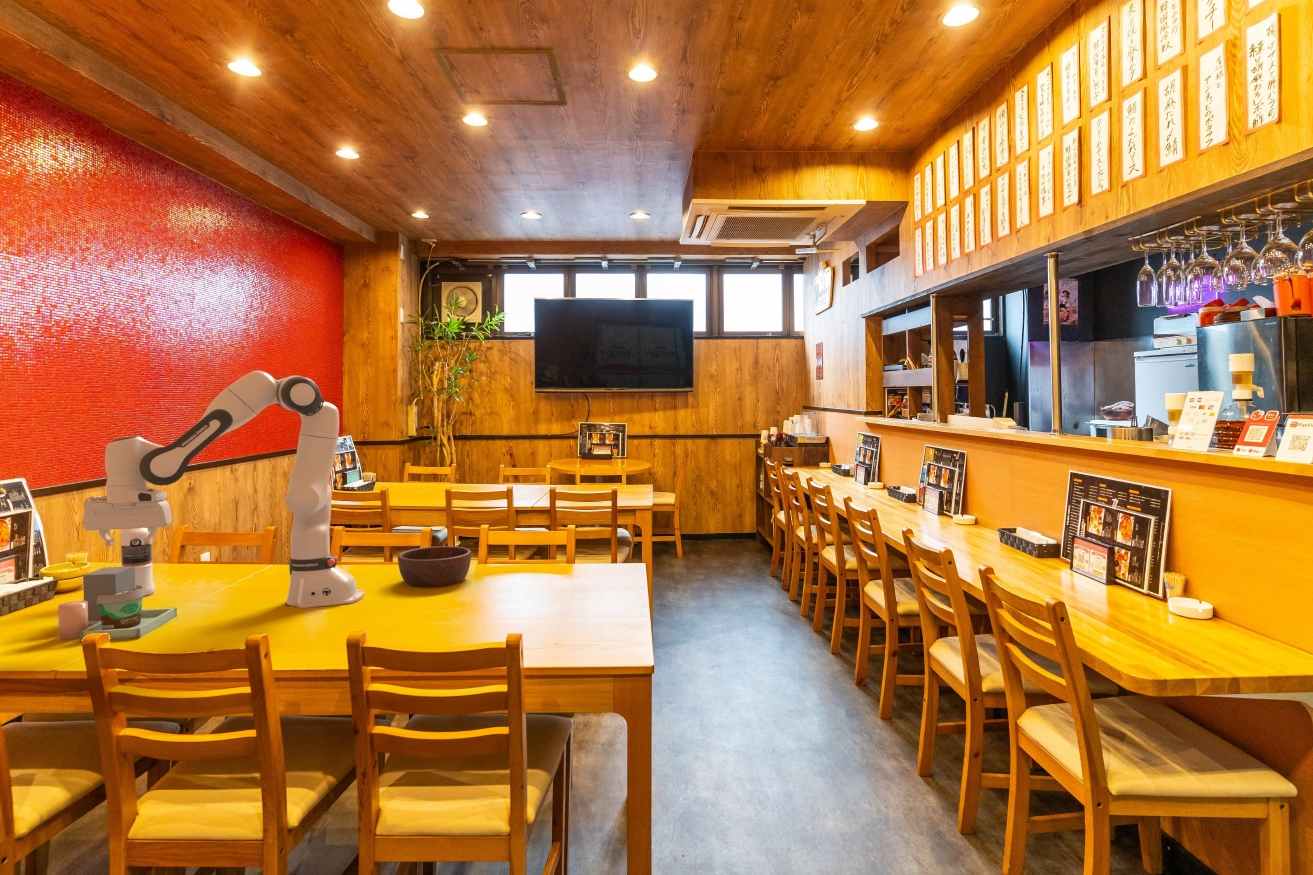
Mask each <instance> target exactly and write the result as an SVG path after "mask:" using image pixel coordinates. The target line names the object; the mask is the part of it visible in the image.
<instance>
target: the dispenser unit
mask: <svg viewBox="0 0 1313 875" xmlns="http://www.w3.org/2000/svg"><path fill="white" fill-rule="evenodd" d="M82 582H83V584H82V585H83V586H82V587H83V601H88V626H90V625H91V626H93V625H95V624H97V623H99V622H101V616H100V609H99V604H96V602H97V598H98V596H106V595H113V594H115V593H117V592H122V591H129V590H132V589H135V566H126V567H121V566H110V567H109V566H108V567H107V566H105V567H102V568H99V569H97V570H94V571H91V572H87V573H85V574H83V575H82Z"/></svg>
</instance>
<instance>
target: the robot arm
mask: <svg viewBox="0 0 1313 875" xmlns="http://www.w3.org/2000/svg"><path fill="white" fill-rule="evenodd" d="M271 405H277V406H279V407H281V408H283V409H285V410H287V411H291V412H295V413H298V414H299V416H300V421H301V426H300V429H299V430H300V431H299V436H298V441H297V442H298V444H297V448H296V455H295V460H294V464H293V467H292V470H291V473H290V477H289V482H288V485H287V490H286V494H285V498H284V502H285V505H286V507H287V509H288V511H289V512H291V513H293V515H292V522H291V523H292V524H291V530H290V557H289V563H288V565H289V568H288V569H289V576H290V582H289V590H288V593H287V598H286V601H285V604H286V605H289V606H294V607H298V608H299V609H307V608H314V607H315V608H316V607H317V608H318V607H325V606H326V607H327V606H335V605H345V604H352V603H353V604H354V603H356V602H358V601H360V600H361V599H362V598H364V596H365V592H364V590H363V589H359V588H358V587H357V582H356V580H355V577H354V576H353V575H352V574H350V573H349V572H347V571H345V570H344V569H342V568H341V567H339V566H337V565H338V564H337V563H338V555H335V556H334V555H332V554H331V552H330V548H331V547H330V546H331V545H330V544H331V543H330V541H331V540H330V539H331V537H330V529H331V528H330V527H331V519H332V518H331V517H332V498H333V495H332V494H333V492H332V491H333V490H332V487H331V485H330V484H329V482H330V478H331V474H332V470H333V467H334V465H335V459H336V454H337V446H338V440H339V433H340V413H339V408H338V407H336V405H334V403H333V404H332V403H330V402H327V401H325V400H324V397H323V396H322V393H321V391H320V388H319V386H318V384H316V382H315V381H314V380H312V379H311V378H309V377H305V376H302V375H290V376H286V377H281V378H280V377H279V378H274V377H273V376H272V375H271V374H269V373H267V372H266V371H263V370H253V371H251V372H249V373H247V374H245V375H243V376H242V377H240V378H238V379H237V380H235V381H233V383H231V384H230V385H228V386H227V387H226V388H224V389H223V390H222V391H221V392H220V393H219V394H218V395H216V396H215V398H214V399H213V400H212V401H211V402H210V404H209V405H208V407H207V408H206V410H205V412H204V413H203V415H202V416H201V418H199V420H198V421H197V422H196V423H195V424H194V425H193V426H191V427H190V428H189V429H188V430H187V431H185V432H184V433H183V434H182V435H181V436H179V437H178V438H177V439H175V440H174V441H173V442H171V443H169V444H167V445H165V446H164V445H161V444H157V443H154V442H151V441H149V440H146V439H144V438H143V437H142V436H138V435H132V436H126V437H121V438H116V439H112V440H111V441H109V443H108V444H107V445H106V448H105V455H104V468H105V469H104V470H105V473H106V475H107V478H106V483H105V492H106V493H105V494H106V495H99V496H94V495H93V496H92V495H91V496H89V497H88V498H86V499H85V500H84V501H83V510H84V512H83V513H84V514H83V519H82V523H83V524H82V528H83V529H84V530H86V531H98V534H99V536H100V537H101V538H102V539H103V540H104V546H105V547H112V546H115V538H111V536H110V535H109V533H110V530H124V529H135V528H148V532H150V533H149V535H148V537H146V538H144V544H153V543H154V536H155V534H157V532H158V528H166V527H169V526H170V525H171V524H172V522H173V519H172V517H173V516H172V508H171V505H170V503H169V502H168V500H166V499H167V498H168V493H167V491H164V490H159V489H156V488H152V487H149V486H148V485H147V483H149V484H151V485H155V486H168V485H172V484H174V483H177V482H178V481H179V480H180V479H182V477H183V475H184V474H185V473H186V470H187V467H188V466H189V463H190V462H191V461H192V460H193V459H194V458H196V456H197V455H198V454H200V453H201V452H202V451H203V450H205V449H206V448H207V447H208V446H209V445H210V444H212V443H213V442H214V441H215V440H216V439H218V438H220V437H221V436H223V435H225V434H228V433H230V432H232V431H235V430H236V429H239V428H240V427H241V426H244V425H245V424H246V423H248V422H250V421H251V420H252V419H254V418H255V417H257V415H259V414H260V413H261V412H262V411H263V410H264V409H266V408H267V407H269V406H271ZM357 588H358V589H357Z"/></svg>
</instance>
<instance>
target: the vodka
mask: <svg viewBox="0 0 1313 875" xmlns="http://www.w3.org/2000/svg"><path fill="white" fill-rule="evenodd" d="M149 533H150V532H148V528H135V529H122V531H120V534H119V540H120V544H119V545H120V548H121V549H120V551H121V552H120V555H121V558H120V559H121V566H120V567H126V566H135V589H136V585H139V586H143V588H144V590H145V593H146V594H145V595H144V596H143V597H148V596H150V595H153V594H154V593H155V592H156V585H155V583H154V576H153V575H154V574H153V565H154V563H153V550H152V548H153V546H152V544H153V543H152V544H144V538H146V537H148V535H149Z"/></svg>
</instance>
